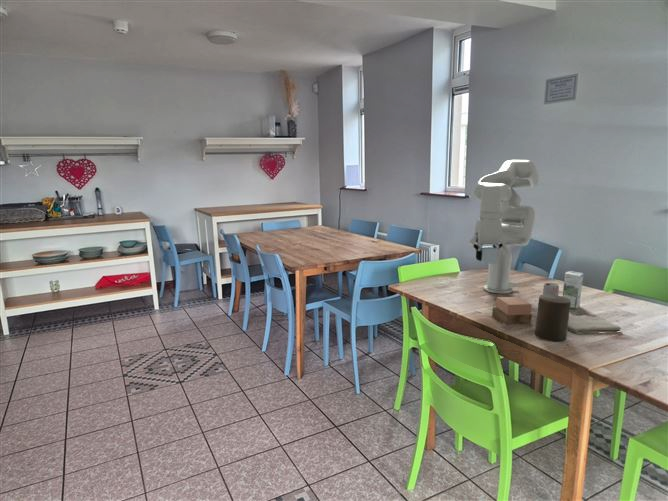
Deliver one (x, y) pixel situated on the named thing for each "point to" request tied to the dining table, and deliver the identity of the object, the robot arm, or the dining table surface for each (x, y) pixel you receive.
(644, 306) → the dining table surface
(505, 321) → the walnut base block
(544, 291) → the energy drink
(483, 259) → the blue-grey cube
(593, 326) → the washcloth
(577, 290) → the syrup box
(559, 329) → the pillar candle
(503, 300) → the terracotta block
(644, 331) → the dining table surface
